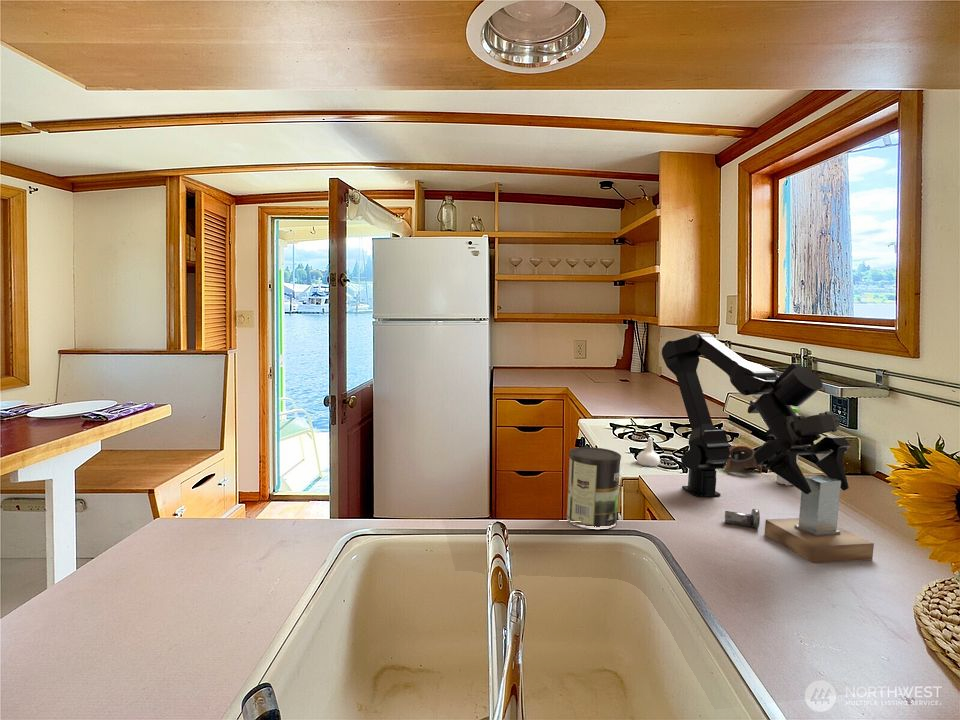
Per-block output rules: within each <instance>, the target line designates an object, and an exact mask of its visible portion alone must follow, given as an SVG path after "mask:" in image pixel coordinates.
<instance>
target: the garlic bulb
mask: <svg viewBox="0 0 960 720" xmlns="http://www.w3.org/2000/svg"><path fill="white" fill-rule="evenodd" d="M636 461H637V463H638V464H639V465H641V466H645V467H651V468H652V467H653V466H654V467H657V466H659V465H660V464H661V458H660V456H659V454H658V453H657V452H656V451H654V443H653V438H652V437H648V439H647V444H646V447H645V449H644V450H641V451H640V452H638V455H637V456H636Z"/></svg>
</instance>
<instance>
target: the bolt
mask: <svg viewBox="0 0 960 720" xmlns="http://www.w3.org/2000/svg"><path fill="white" fill-rule="evenodd" d="M760 514H761V513H760V510H759V509H758V508H752V509H751V512H750V513H749V514H748V513H742V512H738V511H737V512H736V511H731V510H725V511H724V523H726V524H731V525H737V526H745V527H749V528H750V527H751V528H756V529H758V528H759V527H760V518H761V516H760Z"/></svg>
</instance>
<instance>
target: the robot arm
mask: <svg viewBox="0 0 960 720" xmlns="http://www.w3.org/2000/svg"><path fill="white" fill-rule="evenodd" d="M661 356H662V359H663V361H664V364H665V365H666V367H667V368H668V370H670V372H671V373H672V374H673V375H674V376H675V378H676V380H677V384H678V387H679V391H680V394H681V397H682V402H683V405H684V407H685V411H686V414H687V418H688V421H689V424H690V428H691V432H690V434H689V438H688V445H689V446H688V447H689V449H688V450H686V452H685V453H683V454H682V455H681V457H680V461H681V465H682V467H685V468H686V469H688V479H687V485H681V488H682V490H685V491H686V492H688V493H690V494H692V495H693V496H694V497H721V493H720V492H719V491H717V470H724V468H725V467H726V462H727V459H728V457H729V456H730V457H731V455H730V450H729V447H730V446H731V444H730V443H729V441H728V437H727V433H726V431H725V430H724V429H718V428H716V426H714V424H713V423H714V422H713V420H712V417H711V414H710V410H709V408H708V405H707V401H706V398H705V394H704V391H703V388H702V385H701V382H700V379H699V376H698V372H697V369H698V365H699V363H700V357H701V356H704V358H706V359H707V360H708V361H710V362H711V363H712V364H714V365H715V366H716V367H718V368H719V369H720V370H722V371H723V372H724V373H725V374H726V375H727V376H728V377H729V382H730V383H731V385H732V386H733V387H734V388H735V389H736V390H737V392H738V393H739V394H740V395H742V396H759V397H758V398H757V399H756V400H750V401H749V406H748V407H747V413H748V414H759V416H760V417H761V419H762V420H763V421H764V423H765V425H766V427H767V428H768V429H767V430H766V431H765V434H766V435H767V437H774V439H773V438H772V439H771V438H770V439H767V441H765V442H764V443H763V444H761V445H760V446H759V447H758V448H757V449H756V450H755V449H754V459H755V461H756V463H757V464H758V466H762V467H764V469H766V470H769V471H771V472H772V473H774V474H776V476H777V475H779V476H780V477H782V478H784V479H785V480H786V481H788V482H789V483H791V484H792V485H793V486H794V487H795V488H797V489H798V490H799V491H802V492H804V493H805V494H809V493H811V489H810V487H809V485H808V483H807V481H806V479H805V477H804V476H805V475H804V474H803V472H802V470H801V468H800V466H799V464H798V463H797V455H798V456H807V455H809V456H810V458H811V459H812V460H814V461H815V462H816V463H815V466H816V467H818V469H820V471H822V472H823V474H824V475H825V476H828V477H831V478H834V479H837V480H840V481H841V487H840V490H842V491H847V490H849V488H850V487H849V483H848V480H847V475H846V471H845V468H844V463H843V459H844V457H845V454H846V453H848V449H850V448H851V444H850V443H849V441H848V440H847V439H846V437H844V436H839V435H834V436H833V435H832V436H830V435H829V436H824V437H823V438H822V436H821V435H823V434H826V433H830V432H832V433H835V432H838V428H839V427H840V425H841V420H840V418H838V416H837V415H836V414H835V413H834V411H832V410H831V411H830V410H828V411H827V410H826V411H824V412H819V413H818V414H814V415H810V416H804V415H798V416H797V415H796V413H795V412H794V411H793V409H792V408H791V407H800V406H801V405H803V404H804V403H805V402H806V401H808V400H809V399H810V398H812V397H813V396H814V395H815V394H816V393H817V392H819V391H820V390H822V388H823V386H824V385H823V381H822V379H821V377H820V376H819V375H818V374H815V373H814V371H811V370H810V369H808V368H805V367H803V365H802V364H801V363H797V362H796V363H793V362H792V363H790V364H789V365H788V366H787V368H786V369H785V370H784V371H783V372H782V373H781V374H780V375H777V373H776V372H775V371H774V370H772V369H770V368H768V367H766V366H763V365H761V364H758V363H754V362H751V361H748V360H746V359H744V358H743V357H742V356H740V355H738V354H737V353H736V352H735V351H733V350H731V349H730V348H729V347H727V345H725V344H723V343H722V342H721V341H719V340H718V339H716V338H715V336H714V335H712V334H710V333H695V334H692V335H690V336H688V337H684V338H680V339H677V340H668V341H666V342H665V344H664V345H663V346H662V348H661ZM821 438H822V439H821ZM819 439H820V440H819ZM818 440H819V441H818ZM815 441H817V442H816V443H815Z"/></svg>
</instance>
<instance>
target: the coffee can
mask: <svg viewBox="0 0 960 720" xmlns="http://www.w3.org/2000/svg"><path fill="white" fill-rule="evenodd" d="M568 455H569V461H568V462H569V463H568V464H569V465H568V489H567V507H566V510H567V511H566V520H567V522H569V521H581V522H569V523H570V524H571V523H572V524H571V525H573V524H575V525H585V526H594V527H595V526H596V527H600V526H611V525H614V524H616V522H617V523H618V507H619V506H618V505H619V502H618V501H619V488H620V487H619V486H620V469H621V460H622V455H621V454H620V453H619V452H617V451H615V450H611V449H607V448H604V447H603V448H601V447H591V446H590V447H589V446H582V447H574V448H571V449H570V450H569V452H568ZM575 525H574V526H575Z"/></svg>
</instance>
